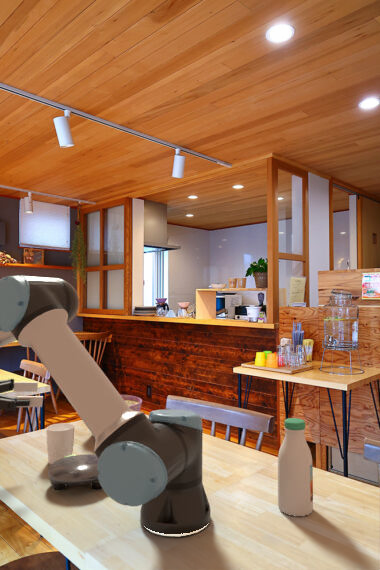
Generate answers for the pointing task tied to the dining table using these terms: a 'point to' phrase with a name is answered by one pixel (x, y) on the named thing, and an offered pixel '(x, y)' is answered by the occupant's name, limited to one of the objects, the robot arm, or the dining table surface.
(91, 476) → the stand
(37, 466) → the dining table surface
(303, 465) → the milk bottle
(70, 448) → the white cup
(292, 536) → the dining table surface
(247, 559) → the dining table surface
